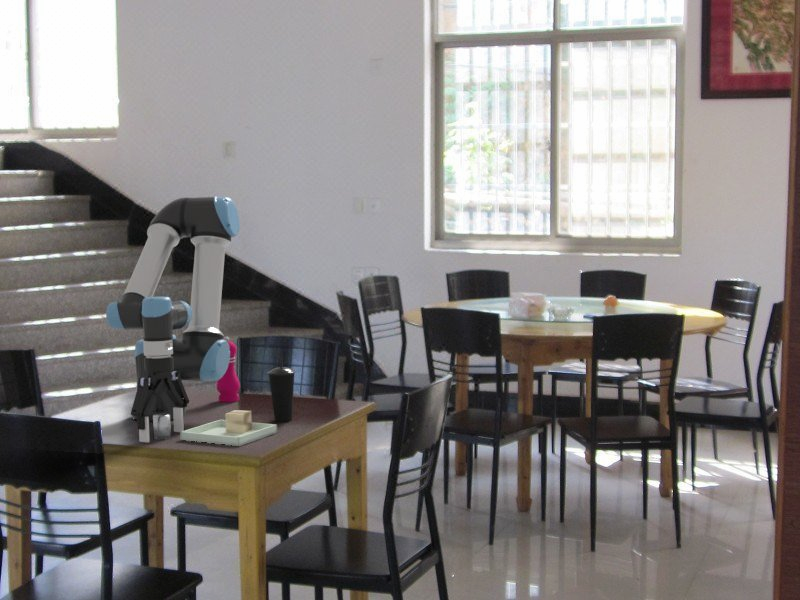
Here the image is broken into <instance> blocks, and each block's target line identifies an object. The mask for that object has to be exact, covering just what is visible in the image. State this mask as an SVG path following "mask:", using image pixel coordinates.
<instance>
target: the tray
mask: <svg viewBox="0 0 800 600" xmlns="http://www.w3.org/2000/svg"><path fill="white" fill-rule="evenodd" d="M275 434H278V424H275V423H274V424H273V423H261V422H252V430H250V431H247V432H245V433H226V419H218V420H215V421H211V422H208V423H205V424H201V425H199V426H195V427H192V428H188V429H185V430H184V431H182V432H179V438H180V439H179V441H182V440H186V441H185V442H191V441H195V442H194V443H201V442H207V443H206V444H211V443H215V444H214V445H221V444H225V445H224V446H231V445H232V446H231V447H241V446H245V445H246V444H249V443H252V442H255V441H259V440H260V439H264V438H266V437H269V436H272V435H275ZM196 441H197V442H196Z"/></svg>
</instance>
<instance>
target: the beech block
mask: <svg viewBox="0 0 800 600" xmlns="http://www.w3.org/2000/svg"><path fill="white" fill-rule="evenodd" d="M224 417H225V419H224V420H226V433H245V432H247V431H250V430H252V410H240V409H238V410H235V409H234V410H231V411H229V412H226V413H225V416H224Z"/></svg>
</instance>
